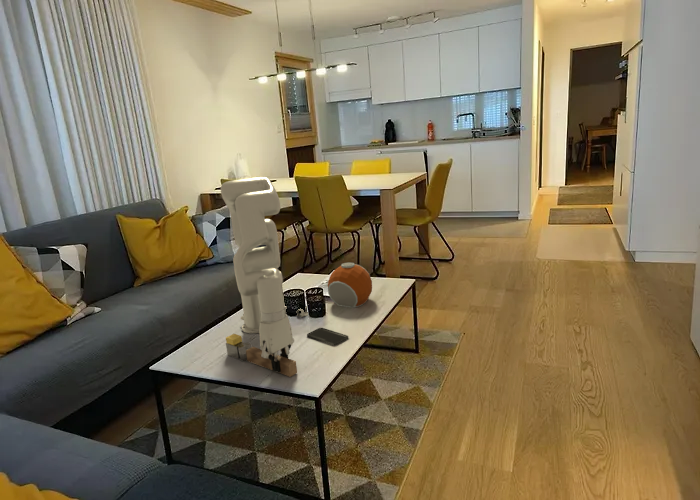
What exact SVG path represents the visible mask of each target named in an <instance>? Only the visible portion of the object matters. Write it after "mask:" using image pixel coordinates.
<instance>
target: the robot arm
mask: <svg viewBox="0 0 700 500" xmlns="http://www.w3.org/2000/svg"><path fill="white" fill-rule="evenodd" d="M220 193H221V194H220V195H221V198H222V200H223V201H224V203H225V206H226V207H227V208H228V210H229V213H230V218H231V226H232V233H233V237H234V238H233V239H234V242H235V245H236V246H237V247H238V249H237V251H236V253H234V255H233V258H232V260H233V261H232V262H233V270H234V276H235V281H236V285H237V289H238V292H239V294H240V297H241V304H242V305H241V306H242V311H243V314H242V315H241V316H240V320H241V321H243V324H242V326H241V331H243V332H244V333H246V334H259V347H260V349H261V351H262V354H261V357H263V358H268V359H269V360H271V363H272V369H273V370H272V371H273V372H276V373H278V372H281V369H280V361H279V360H278V356H277V355H278V351H280V353H279V356H282V357H285V358H288V359H289V355H290V353H291V352H290V349H291V348H292V346H293V344H294V343H295V339H294V338H293V331H292V327H291V323H290V318H289V316H288V314H287V312H286V309H287V306H285V303H284V296H285V294H284V289H283V284H284V278H283V273H282V271H280V270H279V269H278V268H279V267H280V266H281V253H280V244H279V236H278V235H279V234H278V230H277V225H276V223H275V222H274V221H273V220H272V219H270V218H265V217H268V216H274V215H277V214H279V213H280V210H281V201H280V197H279V195H278V192H277V190H276V188H275V186H274V185H273V183H272V181H271V180H270V179H269V178H268V177H265V176H259V177H251V178H242V179H241V178H240V179H232V180H229V181H228V180H227V181H225V182H223V183H222V184H221V185H220ZM259 246H260V247H259ZM268 352H269V354H268Z"/></svg>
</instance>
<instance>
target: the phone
mask: <svg viewBox="0 0 700 500" xmlns="http://www.w3.org/2000/svg"><path fill="white" fill-rule="evenodd" d="M306 336H307V338H309V339H312V340H315V341H318V342H320V343H324V344H326V345H330V346H333V347H337V346H339V345H340V344H342V343H344V342H346V341H347V340H349V339H350V338H349V335H347V334H343V333H340V332H337V331H334V330H331V329H327V328H324V327H319V328H318V327H317V328H316V329H314V330H312V331H310V332H308V333H307V334H306Z"/></svg>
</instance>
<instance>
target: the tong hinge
mask: <svg viewBox="0 0 700 500" xmlns="http://www.w3.org/2000/svg"><path fill="white" fill-rule="evenodd" d="M225 347H226V348H225V349H226V354H227V356H229V357H232V358H234V359H236V360H240V362H248V360H247V354H246V350H248V349H250V348H251V347H253V346H252V344H251V343H248V342H244V341H242V342H240V343H238V344H236V345H231V344H228V343H226V342H225Z"/></svg>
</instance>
